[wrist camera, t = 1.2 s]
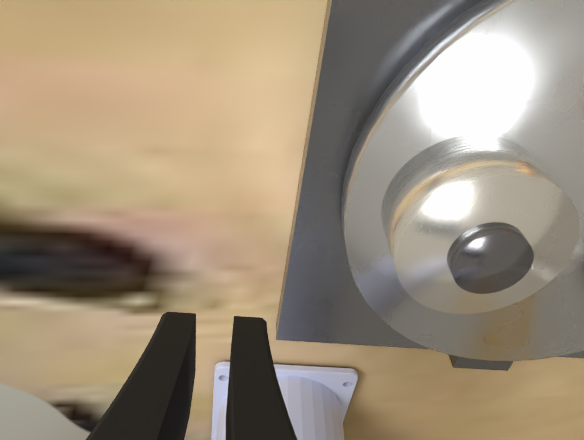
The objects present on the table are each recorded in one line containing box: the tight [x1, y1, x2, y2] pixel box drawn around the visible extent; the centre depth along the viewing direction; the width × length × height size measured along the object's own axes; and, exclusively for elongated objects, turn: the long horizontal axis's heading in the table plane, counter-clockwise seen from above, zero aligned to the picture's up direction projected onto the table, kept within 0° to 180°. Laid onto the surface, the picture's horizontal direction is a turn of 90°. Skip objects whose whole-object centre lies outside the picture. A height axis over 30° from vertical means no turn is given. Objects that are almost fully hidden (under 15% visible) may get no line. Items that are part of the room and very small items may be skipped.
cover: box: [381, 134, 580, 314], centre depth 15 cm, size 6×6×3 cm
